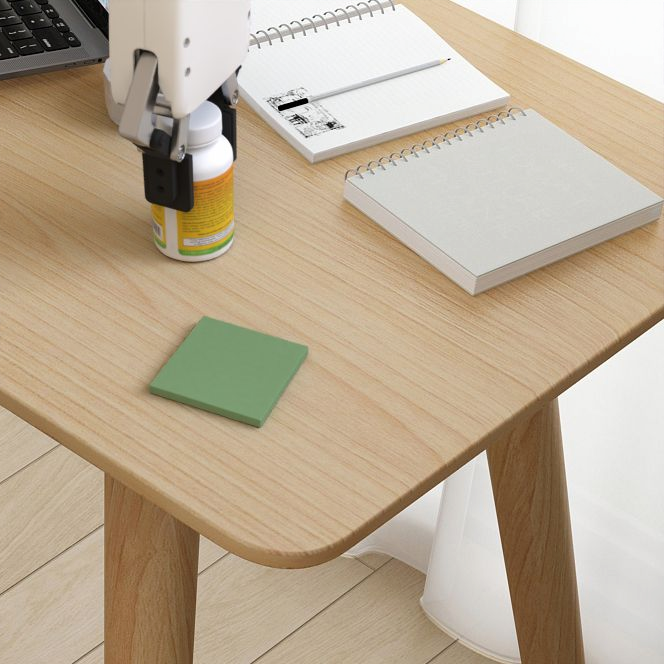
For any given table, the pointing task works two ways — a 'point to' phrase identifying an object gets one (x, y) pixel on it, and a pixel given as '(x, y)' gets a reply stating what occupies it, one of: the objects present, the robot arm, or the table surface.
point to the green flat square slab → (230, 371)
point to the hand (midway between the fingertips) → (192, 178)
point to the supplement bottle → (200, 193)
